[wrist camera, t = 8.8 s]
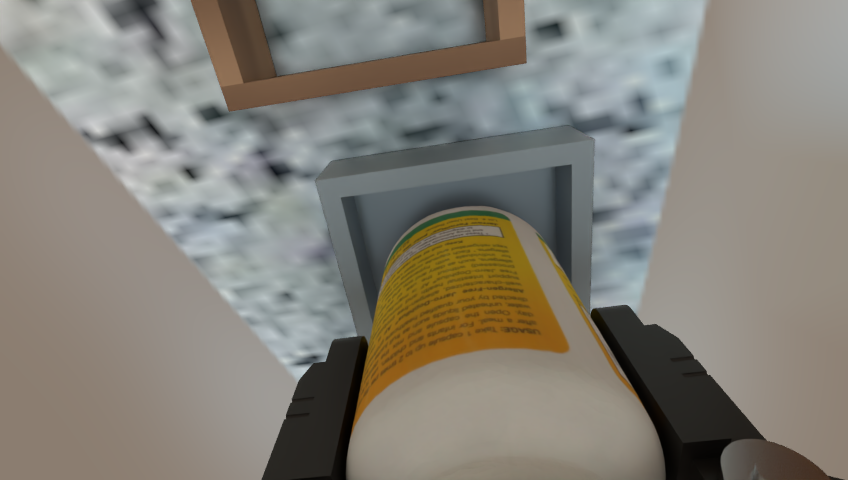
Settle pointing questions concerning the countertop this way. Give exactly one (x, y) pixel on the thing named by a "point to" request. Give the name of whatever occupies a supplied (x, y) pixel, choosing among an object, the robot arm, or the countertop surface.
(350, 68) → the wooden square frame
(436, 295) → the supplement bottle
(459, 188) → the tray
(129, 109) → the countertop surface
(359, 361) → the robot arm
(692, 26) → the countertop surface
